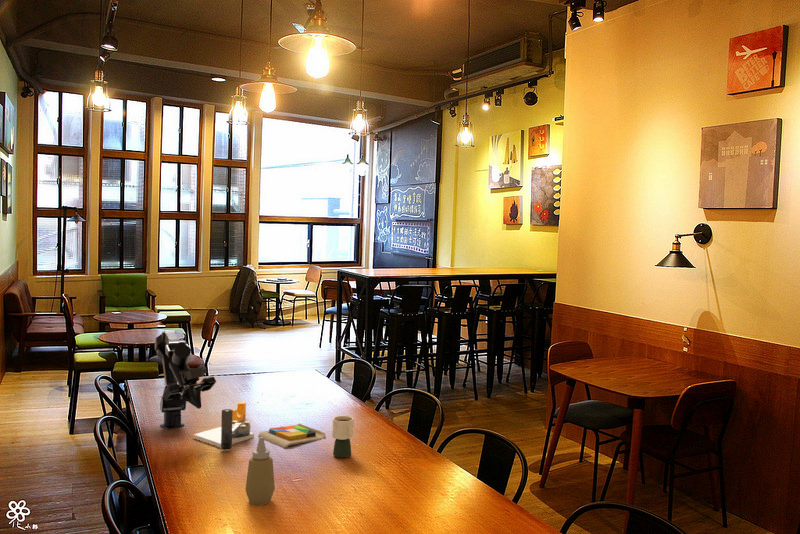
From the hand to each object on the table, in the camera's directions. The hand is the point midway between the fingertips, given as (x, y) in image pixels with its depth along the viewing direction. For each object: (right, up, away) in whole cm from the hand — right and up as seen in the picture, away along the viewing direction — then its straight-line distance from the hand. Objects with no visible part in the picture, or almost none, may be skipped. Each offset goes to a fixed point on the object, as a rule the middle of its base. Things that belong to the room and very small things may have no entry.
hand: (200, 407), depth 219 cm
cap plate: (+7, -12, +7) cm, 16 cm away
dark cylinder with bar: (+12, -12, +1) cm, 17 cm away
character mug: (+51, -15, -8) cm, 54 cm away
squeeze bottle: (+31, -16, -45) cm, 57 cm away
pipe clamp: (+5, -12, +26) cm, 29 cm away
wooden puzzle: (+31, -14, +10) cm, 35 cm away
